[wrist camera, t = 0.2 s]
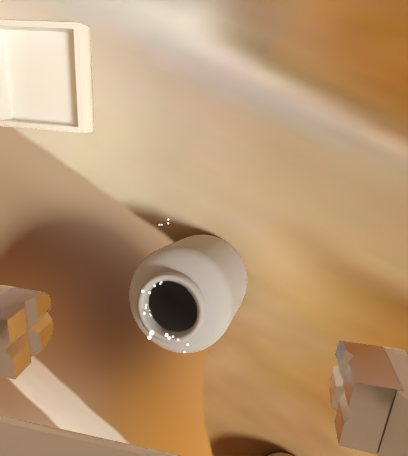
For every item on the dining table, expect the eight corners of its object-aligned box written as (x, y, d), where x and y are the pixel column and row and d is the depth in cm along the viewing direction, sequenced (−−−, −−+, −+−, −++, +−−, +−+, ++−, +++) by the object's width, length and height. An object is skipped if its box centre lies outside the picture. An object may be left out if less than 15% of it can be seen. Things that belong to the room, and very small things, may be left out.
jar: (139, 227, 62) (58, 299, 39) (215, 193, 58) (174, 251, 35) (188, 317, 66) (141, 431, 43) (262, 291, 62) (255, 402, 38)
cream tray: (0, 24, 56) (-17, 19, 52) (90, 27, 53) (78, 22, 50) (11, 124, 61) (-4, 125, 57) (94, 131, 58) (83, 132, 55)
